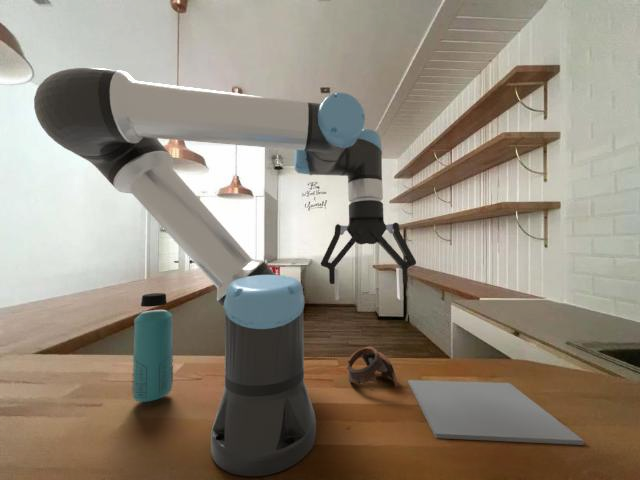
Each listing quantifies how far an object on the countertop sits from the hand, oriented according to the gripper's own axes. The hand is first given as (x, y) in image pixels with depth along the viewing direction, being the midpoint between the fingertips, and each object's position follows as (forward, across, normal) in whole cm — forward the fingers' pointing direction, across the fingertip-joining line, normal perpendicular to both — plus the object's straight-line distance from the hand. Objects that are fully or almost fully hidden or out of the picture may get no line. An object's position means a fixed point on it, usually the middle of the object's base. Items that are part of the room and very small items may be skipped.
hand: (368, 299), depth 58 cm
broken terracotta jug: (+18, 0, 0) cm, 18 cm away
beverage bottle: (+17, +41, +11) cm, 46 cm away
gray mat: (+17, -18, +9) cm, 26 cm away
